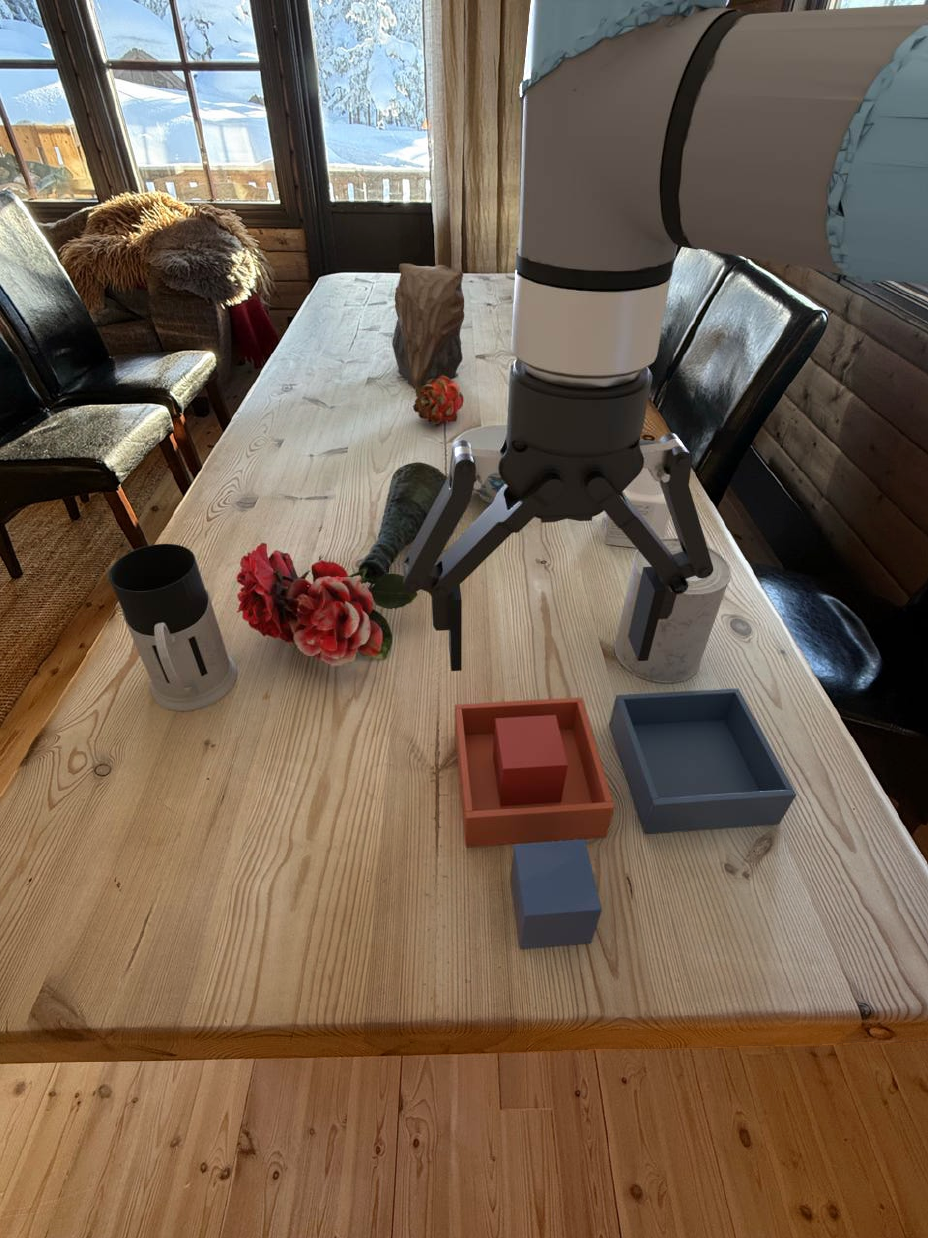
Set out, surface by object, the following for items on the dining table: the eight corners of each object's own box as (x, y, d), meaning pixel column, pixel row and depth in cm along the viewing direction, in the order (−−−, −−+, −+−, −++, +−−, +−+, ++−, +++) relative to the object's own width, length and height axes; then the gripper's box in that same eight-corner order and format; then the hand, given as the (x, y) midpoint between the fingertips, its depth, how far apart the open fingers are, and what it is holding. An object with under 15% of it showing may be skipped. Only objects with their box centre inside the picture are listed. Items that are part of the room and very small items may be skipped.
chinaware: (471, 527, 93) (472, 479, 88) (440, 478, 104) (439, 431, 99) (567, 510, 97) (573, 462, 92) (527, 464, 107) (531, 418, 102)
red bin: (606, 837, 57) (614, 807, 54) (465, 847, 56) (466, 818, 53) (576, 727, 66) (582, 696, 63) (454, 734, 65) (454, 704, 62)
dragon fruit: (425, 443, 116) (442, 425, 126) (465, 419, 112) (478, 401, 122) (398, 401, 113) (417, 385, 123) (437, 374, 109) (453, 360, 119)
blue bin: (779, 824, 58) (797, 795, 55) (643, 834, 57) (654, 805, 54) (726, 718, 67) (738, 687, 64) (608, 725, 66) (615, 694, 63)
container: (605, 515, 96) (620, 431, 87) (660, 521, 95) (680, 437, 86) (603, 545, 90) (619, 458, 82) (661, 552, 89) (683, 464, 80)
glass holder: (233, 644, 74) (199, 532, 65) (247, 737, 64) (210, 622, 55) (150, 662, 72) (103, 549, 62) (152, 762, 62) (95, 647, 52)
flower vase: (414, 563, 99) (323, 731, 72) (319, 478, 94) (182, 624, 67) (484, 501, 90) (410, 666, 63) (383, 403, 85) (255, 538, 58)
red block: (561, 802, 59) (568, 765, 55) (500, 806, 58) (503, 769, 55) (550, 752, 63) (555, 714, 59) (492, 756, 62) (495, 718, 59)
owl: (391, 367, 139) (385, 262, 126) (446, 359, 143) (445, 257, 130) (412, 389, 130) (408, 279, 117) (470, 380, 134) (472, 272, 121)
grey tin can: (716, 652, 74) (748, 564, 66) (672, 697, 69) (702, 607, 61) (643, 613, 79) (664, 527, 71) (597, 653, 74) (615, 564, 66)
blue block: (591, 943, 50) (602, 909, 46) (519, 949, 50) (525, 916, 46) (576, 874, 54) (584, 839, 50) (509, 880, 54) (513, 844, 50)
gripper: (779, 332, 38) (694, 612, 52) (346, 342, 37) (378, 627, 51) (846, 381, 33) (731, 680, 46) (337, 395, 31) (375, 700, 45)
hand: (547, 653), depth 48 cm, fingers open, 13 cm apart
